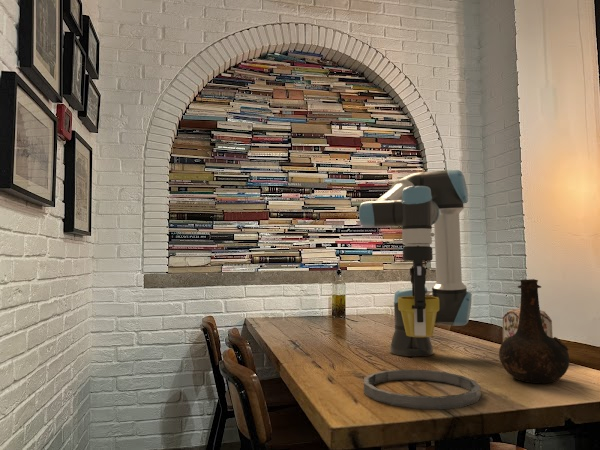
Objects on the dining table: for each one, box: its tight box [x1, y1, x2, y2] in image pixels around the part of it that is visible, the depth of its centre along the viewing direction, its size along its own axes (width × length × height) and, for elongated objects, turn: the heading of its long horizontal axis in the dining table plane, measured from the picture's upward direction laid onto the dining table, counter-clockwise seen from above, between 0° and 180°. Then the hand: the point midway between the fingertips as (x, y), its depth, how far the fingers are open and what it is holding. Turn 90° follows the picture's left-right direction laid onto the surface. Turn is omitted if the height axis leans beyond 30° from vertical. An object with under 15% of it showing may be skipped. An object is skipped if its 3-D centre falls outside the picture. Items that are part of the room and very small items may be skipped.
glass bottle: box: [498, 278, 570, 384], centre depth 139 cm, size 18×18×28 cm
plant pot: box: [398, 296, 439, 338], centre depth 127 cm, size 10×10×10 cm
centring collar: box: [363, 368, 482, 410], centre depth 126 cm, size 28×28×2 cm
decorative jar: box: [502, 303, 554, 343], centre depth 171 cm, size 12×12×18 cm
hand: (419, 332), depth 127 cm, fingers closed on plant pot, 10 cm apart
